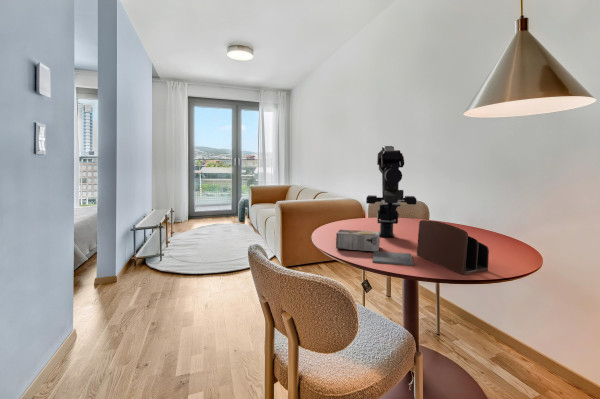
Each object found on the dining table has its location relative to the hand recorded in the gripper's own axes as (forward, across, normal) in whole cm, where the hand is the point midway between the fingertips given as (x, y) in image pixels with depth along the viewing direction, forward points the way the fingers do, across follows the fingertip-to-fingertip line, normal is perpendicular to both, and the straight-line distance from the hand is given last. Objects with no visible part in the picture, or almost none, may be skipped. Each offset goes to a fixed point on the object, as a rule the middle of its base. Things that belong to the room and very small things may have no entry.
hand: (390, 221), depth 113 cm
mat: (+10, 0, -16) cm, 19 cm away
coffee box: (+7, -4, -7) cm, 10 cm away
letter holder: (+11, +19, -16) cm, 27 cm away
